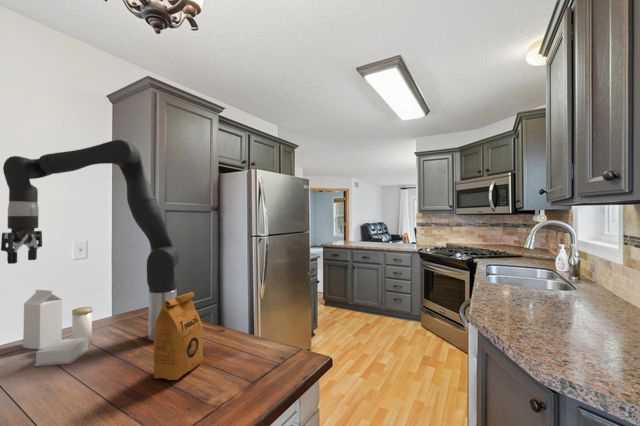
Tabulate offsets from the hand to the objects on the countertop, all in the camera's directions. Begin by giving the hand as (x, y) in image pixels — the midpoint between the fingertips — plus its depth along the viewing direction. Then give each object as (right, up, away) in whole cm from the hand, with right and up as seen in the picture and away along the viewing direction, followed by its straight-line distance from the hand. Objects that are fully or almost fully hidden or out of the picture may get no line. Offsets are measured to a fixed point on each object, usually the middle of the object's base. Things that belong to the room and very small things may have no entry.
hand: (22, 261), depth 101 cm
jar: (+19, -29, +2) cm, 35 cm away
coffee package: (+62, -29, -16) cm, 71 cm away
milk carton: (+6, -29, +1) cm, 30 cm away
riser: (+21, -29, -8) cm, 37 cm away
